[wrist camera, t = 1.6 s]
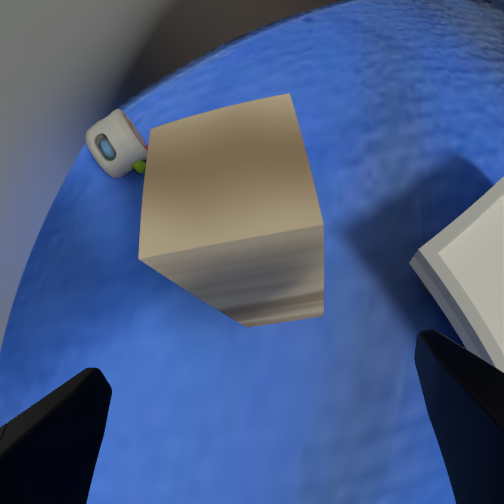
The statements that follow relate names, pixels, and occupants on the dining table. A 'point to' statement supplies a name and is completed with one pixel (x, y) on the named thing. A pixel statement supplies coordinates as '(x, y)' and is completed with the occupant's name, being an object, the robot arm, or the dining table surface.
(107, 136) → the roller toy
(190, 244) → the maple post
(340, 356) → the dining table surface
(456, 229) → the white square tray
